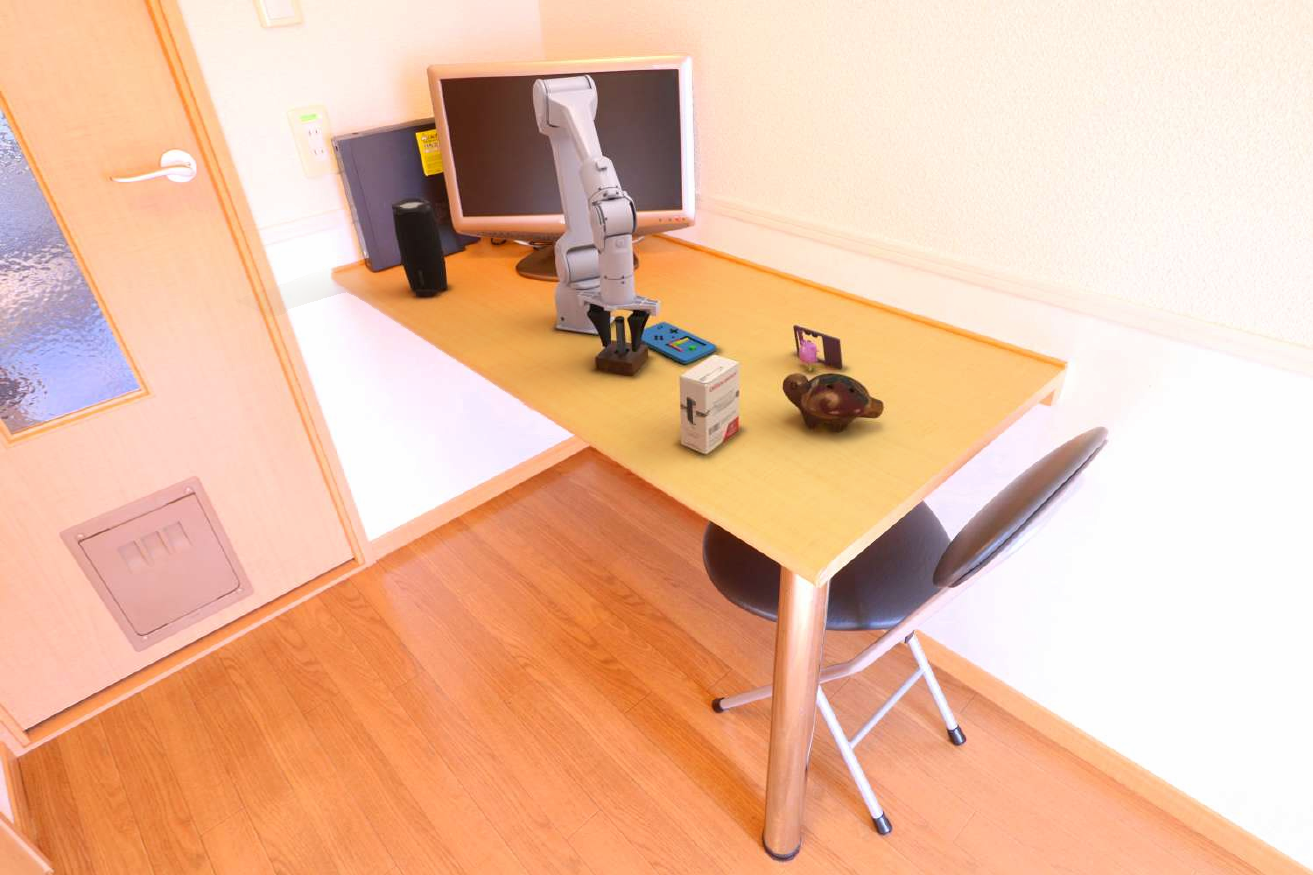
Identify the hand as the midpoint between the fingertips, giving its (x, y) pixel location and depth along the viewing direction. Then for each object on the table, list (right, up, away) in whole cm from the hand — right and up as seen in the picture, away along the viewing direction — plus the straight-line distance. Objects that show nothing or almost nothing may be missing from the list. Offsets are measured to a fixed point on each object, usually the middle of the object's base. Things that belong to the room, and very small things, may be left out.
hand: (621, 347), depth 126 cm
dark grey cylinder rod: (0, -3, +2) cm, 3 cm away
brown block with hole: (0, -3, +2) cm, 3 cm away
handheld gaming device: (+9, +1, +8) cm, 12 cm away
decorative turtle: (+33, -14, -16) cm, 39 cm away
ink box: (+14, -16, -18) cm, 28 cm away
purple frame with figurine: (+34, -3, -1) cm, 34 cm away
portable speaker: (-44, +17, +34) cm, 58 cm away
